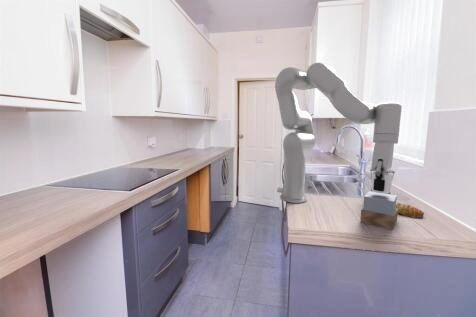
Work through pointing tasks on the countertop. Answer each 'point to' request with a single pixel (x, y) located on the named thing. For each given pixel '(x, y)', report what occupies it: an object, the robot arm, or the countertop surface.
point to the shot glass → (388, 182)
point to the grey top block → (380, 203)
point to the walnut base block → (379, 219)
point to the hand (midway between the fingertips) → (380, 188)
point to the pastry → (409, 210)
